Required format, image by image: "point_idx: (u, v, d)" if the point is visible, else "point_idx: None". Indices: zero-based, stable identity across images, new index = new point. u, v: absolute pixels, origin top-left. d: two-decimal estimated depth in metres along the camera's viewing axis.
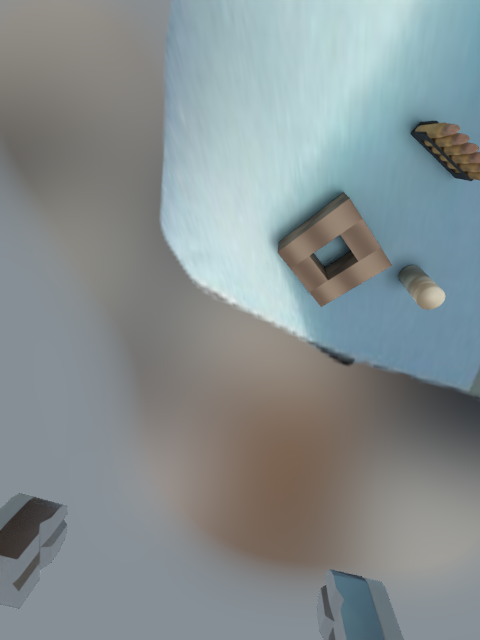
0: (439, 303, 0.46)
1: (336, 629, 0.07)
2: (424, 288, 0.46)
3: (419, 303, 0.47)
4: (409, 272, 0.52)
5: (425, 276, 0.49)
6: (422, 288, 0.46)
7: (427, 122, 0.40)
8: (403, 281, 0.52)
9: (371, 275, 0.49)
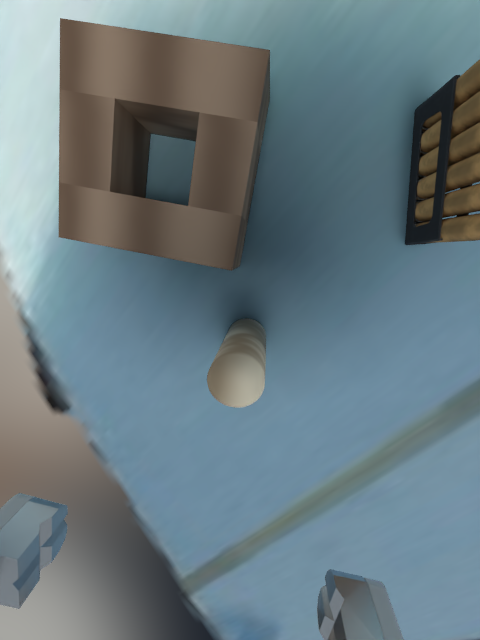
0: (241, 402, 0.19)
1: (336, 629, 0.07)
2: (242, 350, 0.19)
3: (211, 372, 0.19)
4: (246, 324, 0.26)
5: (261, 344, 0.23)
6: (238, 349, 0.20)
7: None
8: (228, 331, 0.26)
9: (187, 257, 0.21)
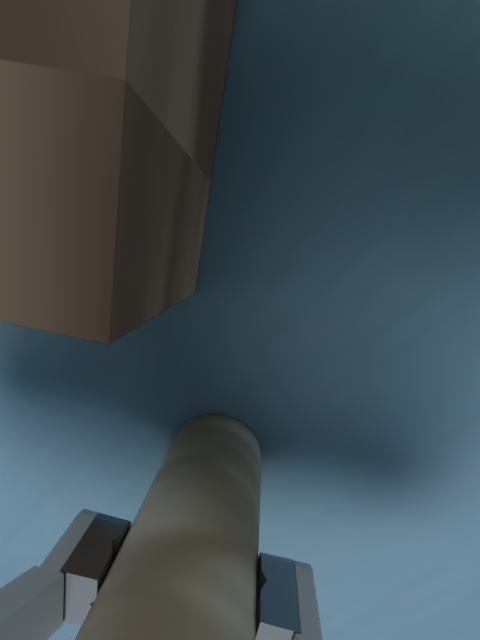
0: None
1: (257, 608, 0.07)
2: None
3: None
4: (208, 455, 0.10)
5: (243, 571, 0.07)
6: None
7: None
8: (160, 473, 0.10)
9: None
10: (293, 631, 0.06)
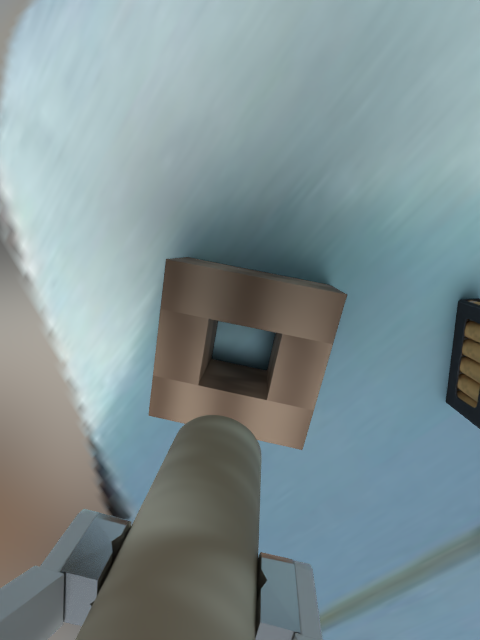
0: None
1: (257, 608, 0.07)
2: None
3: None
4: (208, 456, 0.10)
5: (243, 572, 0.07)
6: None
7: None
8: (160, 474, 0.10)
9: (263, 437, 0.24)
10: (293, 631, 0.06)
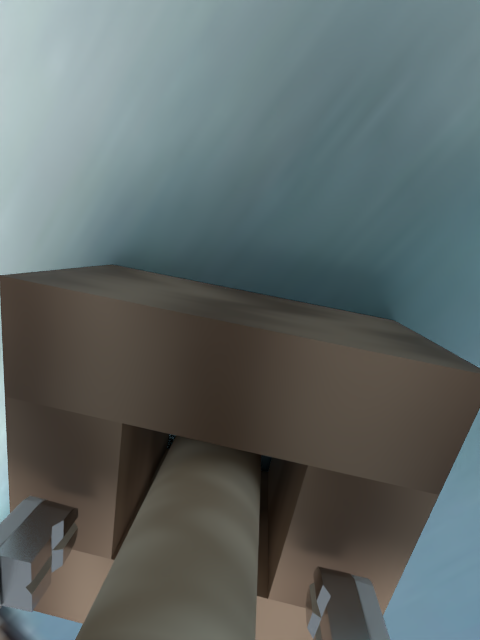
0: None
1: (323, 625, 0.07)
2: (181, 585, 0.06)
3: None
4: None
5: (250, 477, 0.10)
6: (168, 576, 0.06)
7: None
8: None
9: None
10: None
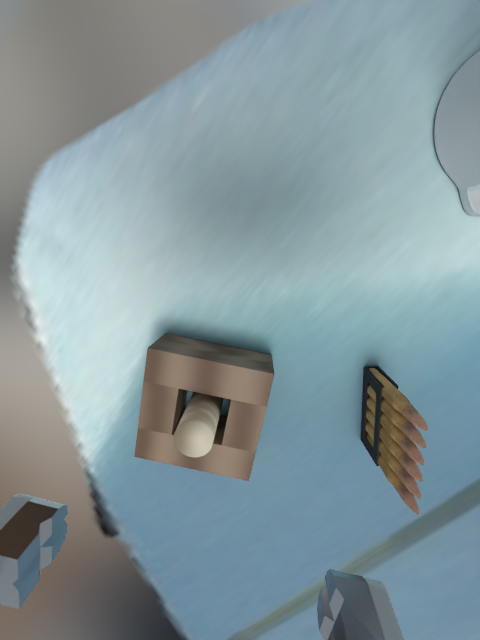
0: (197, 454, 0.28)
1: (336, 629, 0.07)
2: (198, 418, 0.28)
3: (176, 434, 0.28)
4: None
5: (216, 406, 0.32)
6: (195, 416, 0.28)
7: (386, 375, 0.33)
8: (194, 392, 0.35)
9: (220, 472, 0.33)
10: None
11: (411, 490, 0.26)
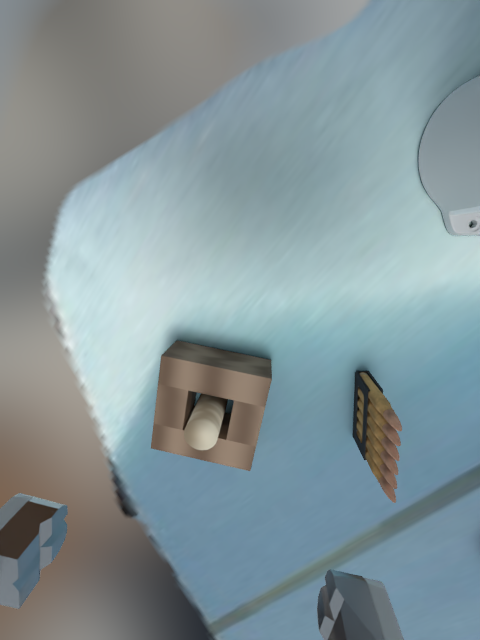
0: (204, 447, 0.33)
1: (336, 628, 0.07)
2: (205, 417, 0.33)
3: (186, 430, 0.32)
4: None
5: (221, 405, 0.36)
6: (202, 415, 0.33)
7: (374, 380, 0.36)
8: None
9: (225, 463, 0.38)
10: None
11: (389, 482, 0.30)
